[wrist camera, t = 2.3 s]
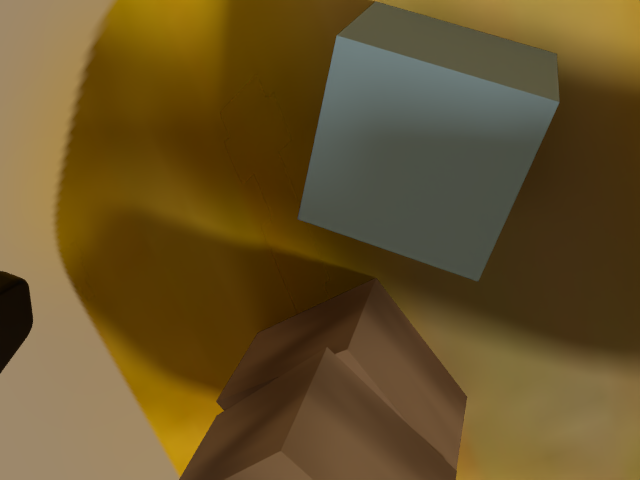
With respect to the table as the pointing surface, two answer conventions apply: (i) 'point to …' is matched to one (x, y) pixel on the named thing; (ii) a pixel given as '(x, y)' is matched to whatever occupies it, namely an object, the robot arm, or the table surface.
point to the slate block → (426, 136)
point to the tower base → (363, 361)
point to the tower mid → (315, 433)
